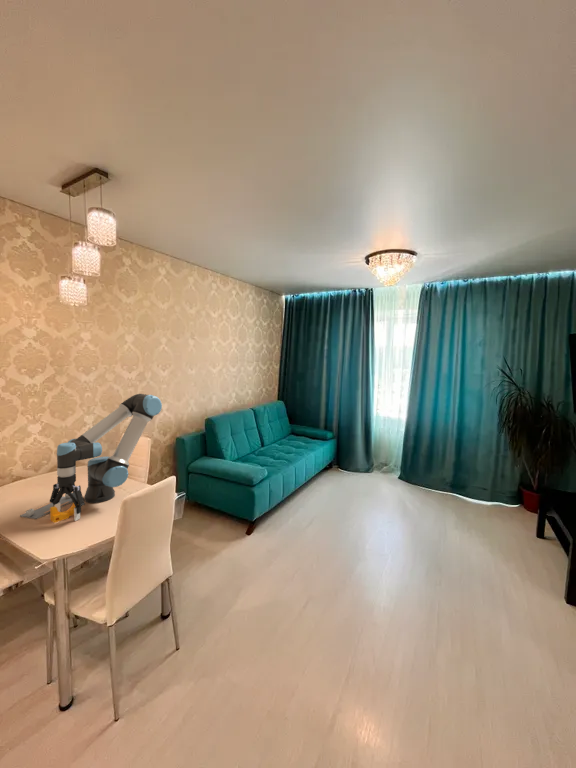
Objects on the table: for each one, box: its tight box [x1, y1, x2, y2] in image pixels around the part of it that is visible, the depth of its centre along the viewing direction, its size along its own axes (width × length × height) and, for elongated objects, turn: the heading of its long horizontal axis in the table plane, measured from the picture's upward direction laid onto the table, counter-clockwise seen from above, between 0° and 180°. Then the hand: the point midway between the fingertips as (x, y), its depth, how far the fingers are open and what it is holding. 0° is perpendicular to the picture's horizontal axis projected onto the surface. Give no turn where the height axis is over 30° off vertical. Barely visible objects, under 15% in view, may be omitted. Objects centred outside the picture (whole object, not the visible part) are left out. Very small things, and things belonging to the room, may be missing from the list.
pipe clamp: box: [49, 502, 75, 524], centre depth 161 cm, size 12×4×6 cm, turn 145°
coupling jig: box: [19, 494, 73, 520], centre depth 170 cm, size 10×24×4 cm, turn 168°
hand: (67, 518), depth 159 cm, fingers open, 11 cm apart
